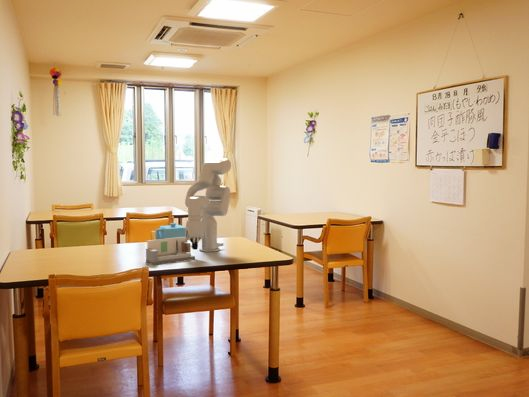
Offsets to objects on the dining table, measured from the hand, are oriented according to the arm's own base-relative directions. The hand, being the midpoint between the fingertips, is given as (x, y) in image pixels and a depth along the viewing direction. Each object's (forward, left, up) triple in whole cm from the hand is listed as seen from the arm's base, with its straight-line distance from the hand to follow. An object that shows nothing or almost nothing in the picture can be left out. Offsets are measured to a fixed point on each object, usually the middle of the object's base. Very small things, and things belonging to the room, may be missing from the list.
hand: (194, 249), depth 293 cm
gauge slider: (+8, -2, -3) cm, 9 cm away
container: (-9, -43, -6) cm, 45 cm away
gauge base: (+15, -2, -5) cm, 16 cm away
